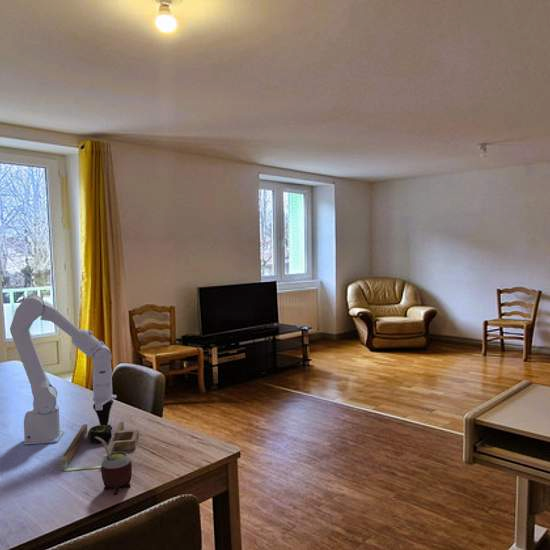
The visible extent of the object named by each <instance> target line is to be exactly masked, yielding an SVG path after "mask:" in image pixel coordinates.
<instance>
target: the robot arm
mask: <svg viewBox="0 0 550 550" xmlns="http://www.w3.org/2000/svg"><path fill="white" fill-rule="evenodd" d="M39 317H40V321H44V322H45V321H48V322H51V323H53V324H54V325H55V326H56V327H58V328H59V329H61V331H63V332H65V333H66V335H68V336H69V337H71V343H72V345H74V347H76V348H77V349H78V350H80V351H81V352H82V353H83V354H84V355H86V357H90V358H91V361H92V391H93V392H92V393H93V394H92V395H93V397H92V401H93V405H92V407H93V410H94V412H95V413H96V415H97V418H98V423H99V425H109V422H110V421H109V420H110V413H111V410H112V406H113V405H114V400H115V399H117V395H116V394H113V378H112V377H113V376H112V372H113V370H112V362H111V361H112V359H113V355H112V352H111V349H110V348H109V347H108V346H107V344H105V343H104V341H102V340H99V339H98V338H96V337H95V336H94V335H93V331H92V330H89V329H85V328H81V329H80V328H78V327H77V326H76V325H75V324H74V323H73V322H71V320H69V319H68V318H67V317H66V316H65V314H63V313H61V312H60V310H58V309H57V308H56V307H55V306H53V305H52V304H50V303H49V302H48V301H46V300H45V301H44V299H43V298H42V297H41V296H39V295H37V294H34V295H28V296H27V297H25V298H24V299H23V300H22V301H21V303H19V305H18V306H17V307H16V309H15V311H14V316H13V318H12V321H11V323H10V326H9V327H10V328H9V331H10V334H11V337H12V339H13V343H14V345H15V349H16V350H17V353H18V355H19V358H20V360H21V364H22V365H23V369H24V371H25V374H26V376H27V378H28V379H27V380H28V381H29V384H30V389H31V393H32V396H33V402H32V407H33V408H32V410H28V411H26V412H25V415H24V418H23V433H24V435H23V436H24V443H23V445H25V446H26V445H38V444H51V443H58V442H59V441H60V440H61V437H62V436H63V435H64V433H65V430H61V426H60V425H61V423H60V422H61V421H60V406H59V405H58V404H57V402H58V401H57V398H58V397H57V396H58V390H57V388H56V387H55V386H53V385H52V384H51V382H50V379H49V377H48V376H47V374H46V371H45V368H44V366H43V362H42V360H41V358H40V355H39V352H38V350H37V347H36V344H35V342H34V339H33V337H32V334H31V331H30V329H31V327H32V326H33V324H34V322H35V321H36V320H37V319H39Z"/></svg>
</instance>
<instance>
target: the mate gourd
mask: <svg viewBox="0 0 550 550" xmlns="http://www.w3.org/2000/svg"><path fill="white" fill-rule="evenodd" d="M95 438H97V439H98V440H100V441H101V442H100V443H101V444H102V446H103V447H104V449H105V453H107V456H106V457H105V458H104V457H103V460H102V463H101V465H102V466H101V468H100V473H101V478H102V482H103V484H104V486H103V491H109V490H112V491H113V490H114V491H113V496H114V495H115V496H117V495H118V493H119V490H120V489H121V490H122V489H129V488H131V486H132V483H131V480H132V474H133V463H132V460H131V457H130V456H129V454H128V453H126V452H125V451H115V452H114V453H111V454H109V451H108V448H109V447H108V446H107V441H104V440H103V439H101V438H99V437H95ZM130 483H131V484H130Z"/></svg>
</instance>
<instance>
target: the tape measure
mask: <svg viewBox="0 0 550 550" xmlns="http://www.w3.org/2000/svg"><path fill="white" fill-rule="evenodd" d="M112 431H113V426H112V425H111V424H107V425H100V424H98V425H94V426H92V427H91V428H89V430H88V431H87V437H88V440H89V441H90V442H92V443H102V442H101V441H100V440H98V439H97V438H95V437H99V438H101V439H103V440H104V441H105V442H107V441H110V440H111V439H112V435H113V434H112Z"/></svg>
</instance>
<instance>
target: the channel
mask: <svg viewBox="0 0 550 550" xmlns="http://www.w3.org/2000/svg"><path fill="white" fill-rule="evenodd" d="M124 422H125V421H119V422H118V425H117V427H116V429H115V432H114V440H111V441H110V444H109V445H108V447H107V448H108V451H109V454H111V453H114V452H123V451H130V450H131V451H132V450H133V451H134V450H136V449H137V444H138V442H139V438H140V432H139V429H130V430H129V429H128V430H125V425H124V424H125V423H124ZM86 434H88V424H87V423H84V424H82V425H81V427H80V428H79V430H78V432H77V433H76V435H74V436H75V437H74V438H73V439H72V441H71V443H70V444H69V446H68V448H67V449H66V451H65V452H64V454H63V455H62V456H61V457H60V458H59V471H64V472H71V471H84V470H85V471H86V470H95V469H101V466H102V464H101V465H90V466H89V465H88V466H79V467H68V466H69V464H70V462H71V460H72V458H73V457H74V456H75V454H76V452H77V450H78V448H79V447H80V446H81V443H82V442H83V440H84V438H85V437H86ZM106 456H107V453H106V452H105V453H104V455H103V459H104V458H105V457H106Z"/></svg>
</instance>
